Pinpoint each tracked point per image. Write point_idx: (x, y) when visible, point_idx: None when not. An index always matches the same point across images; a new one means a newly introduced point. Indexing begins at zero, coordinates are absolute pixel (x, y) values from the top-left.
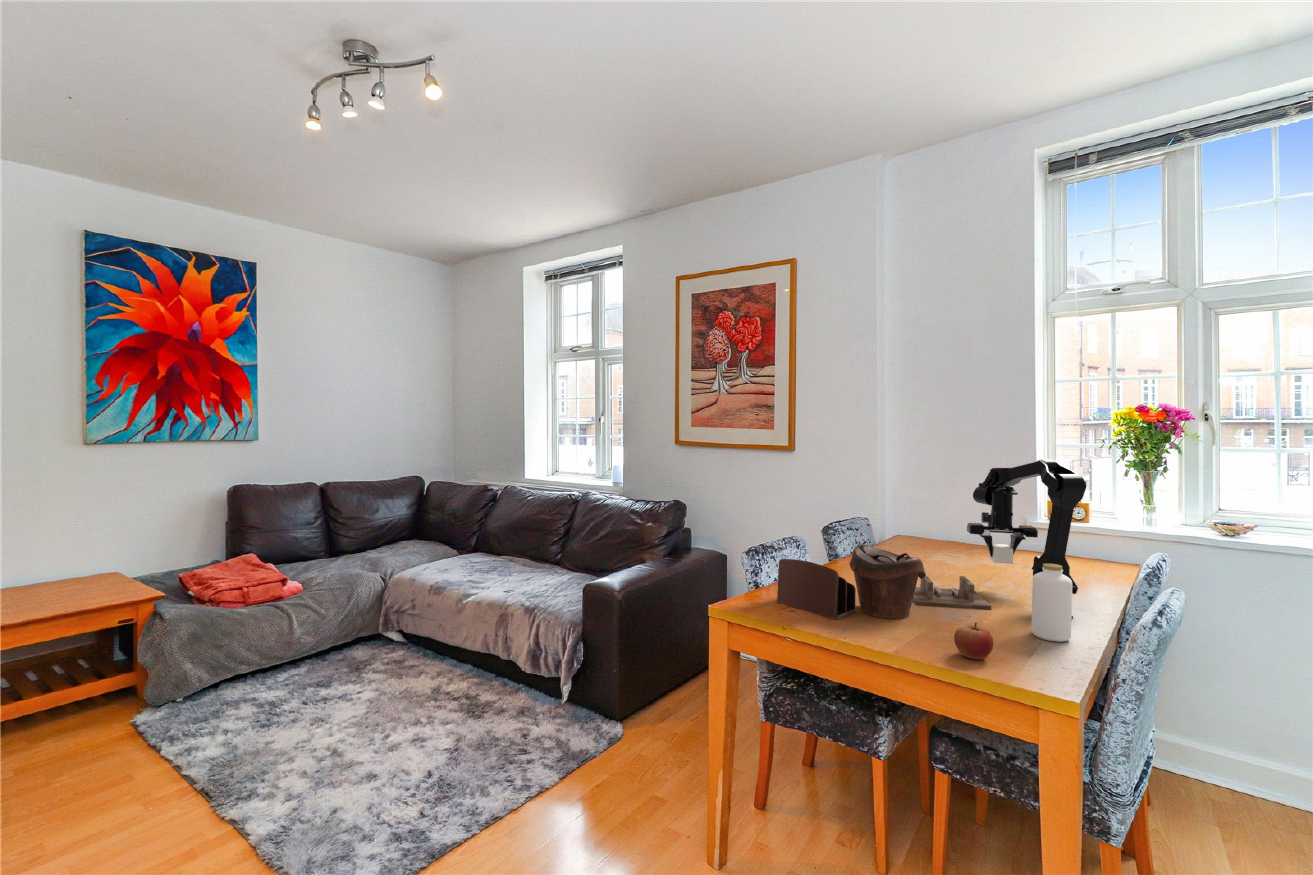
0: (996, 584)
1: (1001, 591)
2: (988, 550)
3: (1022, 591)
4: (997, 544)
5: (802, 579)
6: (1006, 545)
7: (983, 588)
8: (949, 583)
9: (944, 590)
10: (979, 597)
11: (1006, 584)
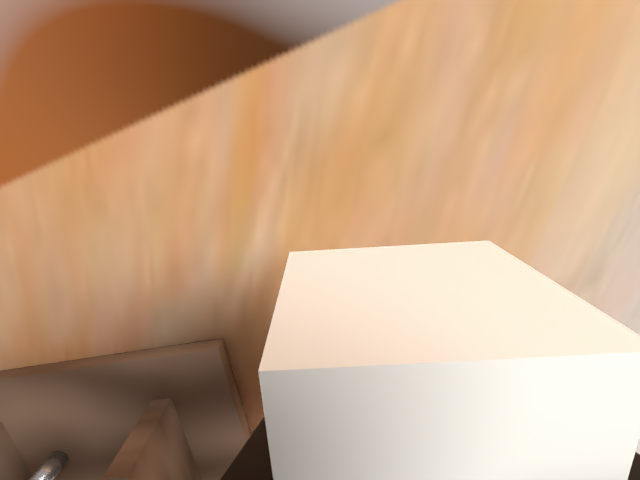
0: (368, 67)
1: (364, 239)
2: (245, 457)
3: (482, 194)
4: (423, 418)
5: None
6: (594, 458)
7: (276, 210)
8: (90, 164)
9: (84, 396)
10: (237, 448)
11: (435, 37)
